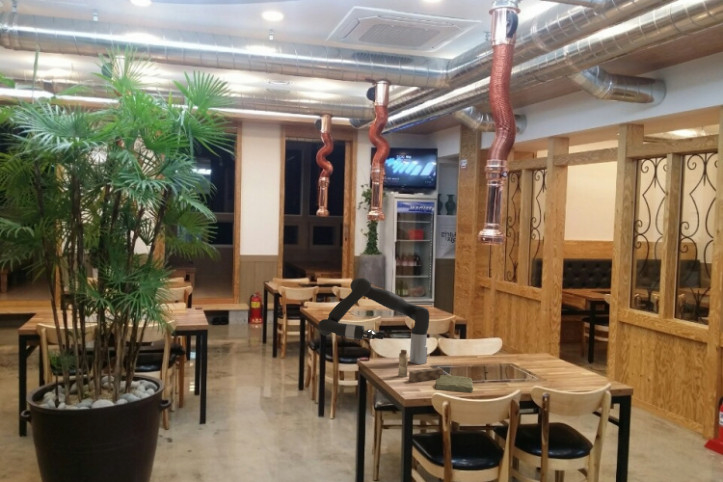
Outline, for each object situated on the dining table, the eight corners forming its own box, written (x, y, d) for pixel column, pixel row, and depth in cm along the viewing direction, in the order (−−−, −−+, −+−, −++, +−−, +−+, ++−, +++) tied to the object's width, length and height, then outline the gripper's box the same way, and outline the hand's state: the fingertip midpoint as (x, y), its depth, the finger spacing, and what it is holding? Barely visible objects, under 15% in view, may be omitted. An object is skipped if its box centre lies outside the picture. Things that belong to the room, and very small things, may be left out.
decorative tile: (471, 383, 333) (471, 376, 333) (472, 393, 313) (473, 386, 313) (435, 380, 335) (436, 373, 335) (434, 390, 315) (435, 383, 315)
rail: (437, 376, 342) (438, 367, 341) (442, 378, 338) (443, 369, 338) (408, 380, 330) (409, 371, 330) (413, 382, 327) (414, 372, 327)
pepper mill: (403, 374, 342) (404, 349, 342) (408, 376, 339) (409, 350, 338) (396, 375, 340) (397, 349, 339) (401, 377, 336) (403, 351, 335)
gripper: (353, 326, 336) (383, 331, 333) (357, 323, 350) (386, 327, 347) (351, 340, 336) (381, 345, 333) (356, 336, 350) (384, 340, 347)
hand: (384, 336), depth 340 cm, fingers open, 8 cm apart
